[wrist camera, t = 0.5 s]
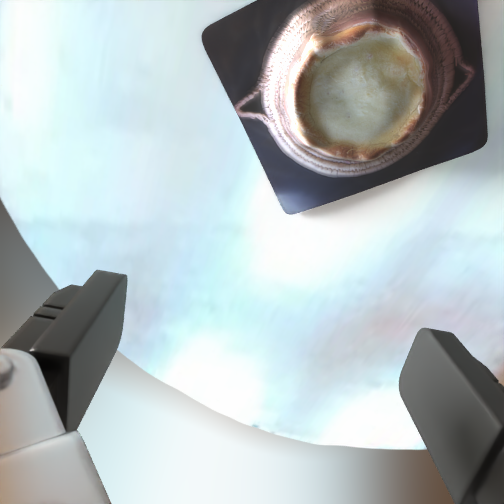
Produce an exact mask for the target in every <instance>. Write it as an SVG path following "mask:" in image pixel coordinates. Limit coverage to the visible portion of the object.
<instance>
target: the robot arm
mask: <svg viewBox="0 0 504 504" xmlns="http://www.w3.org/2000/svg"><path fill="white" fill-rule="evenodd" d="M126 292H127V275H125V274H119V273H113V272H107V271H102V270H96V271H95V272H94V273H93V274H92V276H91V277H90V278H89V279H88V280H87V282H86V283H85V284H84V285H83V286H77V285H69V286H67V287H65V288H63V289H61V290H58V291H57V292H54V293H53V294H52V295H51V296H50V297H49V298H48V299H47V300H46V301H45V302H44V303H43V306H42V307H40V308H39V309H38V310H37V311H36V312H35V313H34V315H33V316H31V317H30V318H29V319H28V320H27V321H26V322H25V323H24V324H23V325H22V326H21V327H20V328H19V330H18V331H17V332H16V333H15V334H14V335H13V336H12V337H11V338H10V339H9V340H8V341H7V342H6V343H5V344H4V345H3V346H2V347H1V348H0V504H111V502H110V499H109V497H108V495H107V493H106V490H105V488H104V486H103V484H102V481H101V479H100V477H99V474H98V472H97V470H96V468H95V465H94V463H93V461H92V458H91V456H90V454H89V451H88V449H87V447H86V445H85V442H84V440H83V438H82V436H81V435H80V433H79V432H78V431H77V428H78V426H79V424H80V422H81V420H82V418H83V416H84V414H85V412H86V410H87V408H88V406H89V405H90V403H91V400H92V398H93V397H94V395H95V392H96V391H97V389H98V387H99V385H100V382H101V381H102V379H103V377H104V375H105V373H106V370H107V369H108V367H109V365H110V363H111V361H112V359H113V357H114V355H115V353H116V351H117V348H118V346H119V343H120V339H121V335H122V330H123V322H124V312H125V302H126ZM399 391H400V395H401V398H402V400H403V402H404V404H405V406H406V408H407V410H408V412H409V414H410V416H411V418H412V420H413V421H414V423H415V425H416V427H417V429H418V431H419V433H420V435H421V437H422V439H423V441H424V443H425V445H426V447H427V449H428V451H429V453H430V455H431V457H432V459H433V461H434V463H435V465H436V467H437V469H438V471H439V473H440V475H441V477H442V479H443V481H444V483H445V485H446V487H447V489H448V491H449V493H450V495H451V497H452V499H453V501H454V503H455V504H504V386H503V385H502V384H500V383H498V380H497V378H496V377H495V376H494V375H493V374H492V373H491V371H490V370H489V369H488V368H487V367H486V366H485V365H483V364H482V363H481V362H480V361H478V360H477V359H476V358H474V357H473V356H472V355H471V354H470V353H469V351H468V350H467V349H466V348H465V347H464V346H463V344H462V343H461V342H460V341H459V340H458V338H457V337H456V336H455V335H454V334H453V333H451V332H446V331H440V330H435V329H429V328H422V329H420V330H419V331H418V333H417V335H416V337H415V339H414V342H413V344H412V347H411V349H410V351H409V354H408V356H407V359H406V361H405V364H404V366H403V369H402V371H401V374H400V378H399Z"/></svg>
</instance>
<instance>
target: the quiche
mask: <svg viewBox="0 0 504 504" xmlns="http://www.w3.org/2000/svg"><path fill="white" fill-rule="evenodd" d="M202 42H203V45H204V48H205V50H206V52H207V54H208V56H209V58H210V60H211V62H212V64H213V66H214V68H215V70H216V72H217V74H218V76H219V78H220V80H221V82H222V84H223V86H224V88H225V90H226V92H227V94H228V96H229V98H230V100H231V102H232V104H233V106H234V108H235V110H236V112H237V114H238V116H239V118H240V120H241V122H242V124H243V126H244V128H245V130H246V133H247V135H248V137H249V139H250V141H251V143H252V145H253V147H254V149H255V151H256V154H257V156H258V158H259V160H260V162H261V164H262V166H263V168H264V170H265V173H266V175H267V177H268V179H269V181H270V183H271V185H272V187H273V190H274V192H275V194H276V196H277V198H278V200H279V202H280V204H281V206H282V208H283V210H284V211H285V212H286V213H287V214H296V213H299V212H303V211H306V210H309V209H312V208H315V207H318V206H321V205H324V204H327V203H330V202H333V201H336V200H339V199H342V198H345V197H348V196H351V195H354V194H356V193H359V192H362V191H365V190H368V189H371V188H373V187H376V186H379V185H382V184H384V183H387V182H390V181H393V180H395V179H398V178H401V177H403V176H406V175H409V174H411V173H414V172H417V171H420V170H422V169H425V168H428V167H431V166H434V165H437V164H440V163H443V162H446V161H449V160H452V159H455V158H458V157H461V156H463V155H466V154H469V153H472V152H474V151H476V150H478V149H480V148H482V147H483V146H484V145H485V144H486V142H487V137H488V133H487V115H486V99H485V83H484V70H483V58H482V47H481V36H480V25H479V14H478V3H477V0H257V1H255V2H253V3H251V4H249V5H247V6H245V7H243V8H241V9H239V10H237V11H236V12H234V13H232V14H230V15H228V16H226V17H224V18H222V19H220V20H218V21H217V22H215V23H213V24H211V25H210V26H208V27H207V28H206V29H205V30H204V31H203V33H202Z"/></svg>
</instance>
